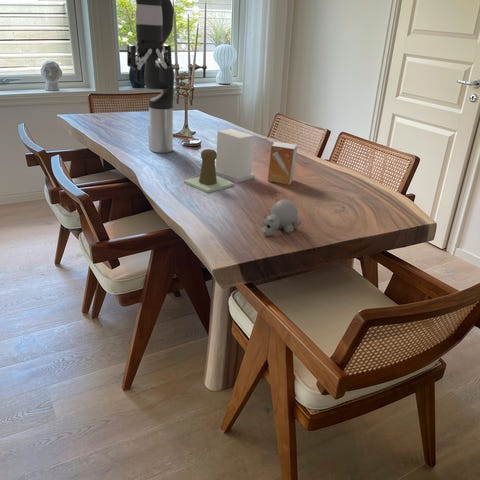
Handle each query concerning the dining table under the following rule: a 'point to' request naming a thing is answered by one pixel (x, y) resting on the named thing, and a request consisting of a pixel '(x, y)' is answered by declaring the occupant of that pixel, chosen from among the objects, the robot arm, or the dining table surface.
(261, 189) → the dining table surface
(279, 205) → the round bodied animal figurine
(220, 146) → the housing
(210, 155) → the cork
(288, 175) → the small box
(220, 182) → the plate
